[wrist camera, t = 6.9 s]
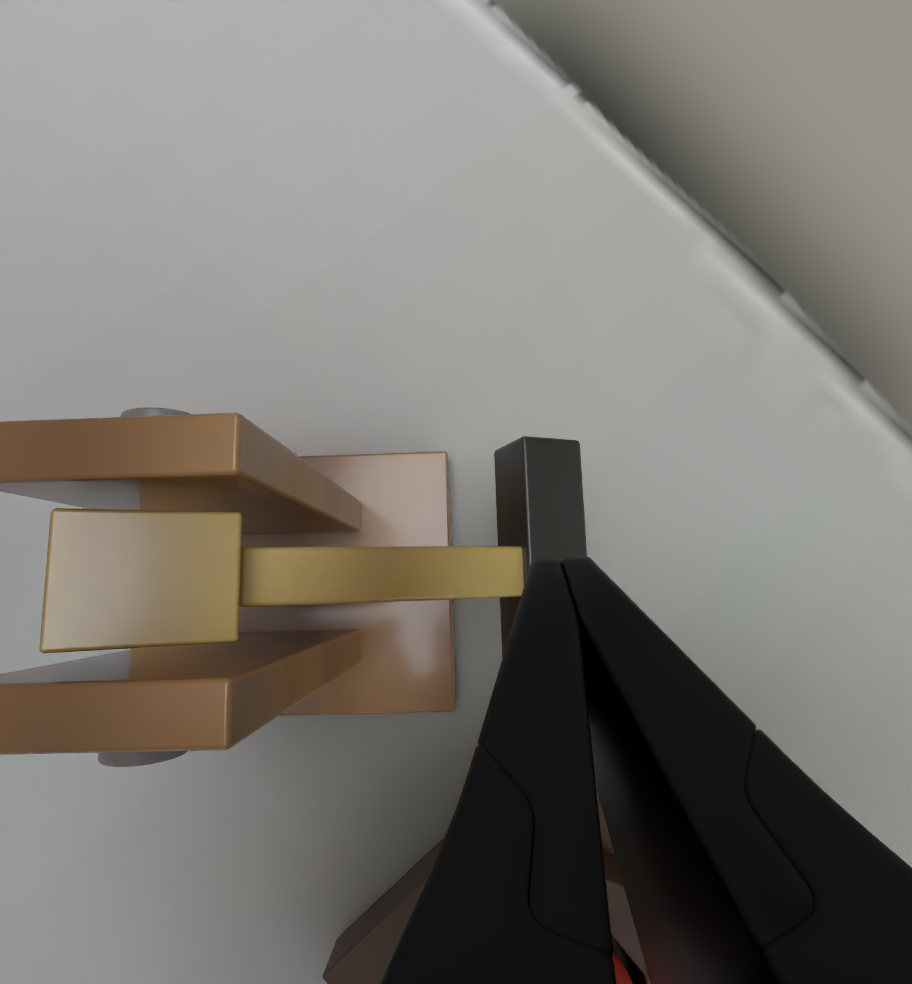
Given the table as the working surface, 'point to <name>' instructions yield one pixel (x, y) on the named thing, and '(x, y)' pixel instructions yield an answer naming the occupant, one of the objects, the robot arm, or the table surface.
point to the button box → (381, 927)
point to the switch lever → (291, 563)
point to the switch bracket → (262, 630)
